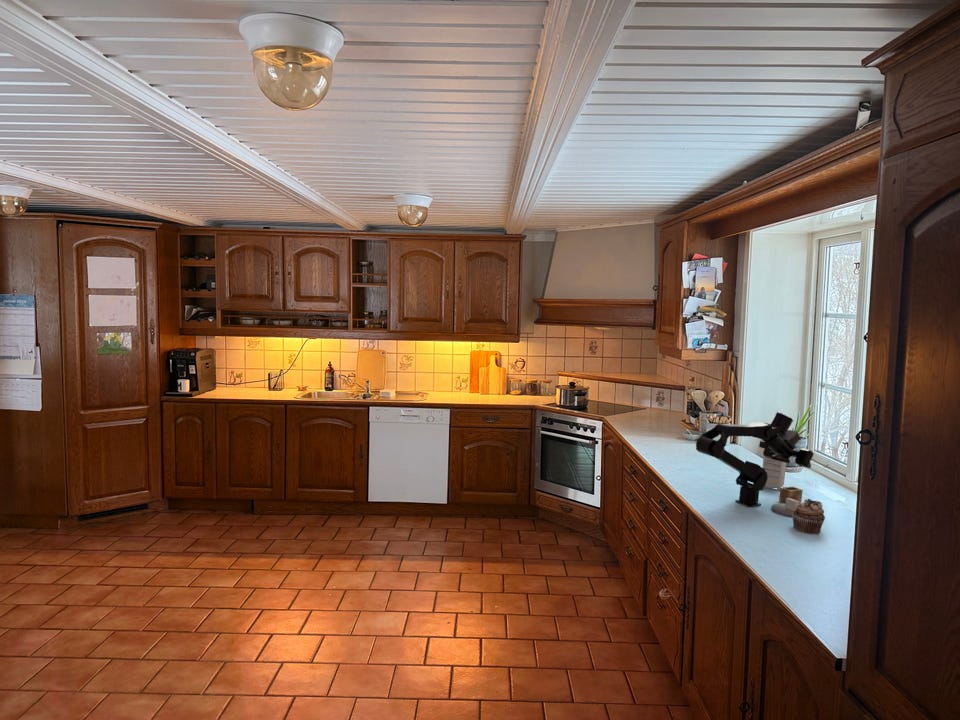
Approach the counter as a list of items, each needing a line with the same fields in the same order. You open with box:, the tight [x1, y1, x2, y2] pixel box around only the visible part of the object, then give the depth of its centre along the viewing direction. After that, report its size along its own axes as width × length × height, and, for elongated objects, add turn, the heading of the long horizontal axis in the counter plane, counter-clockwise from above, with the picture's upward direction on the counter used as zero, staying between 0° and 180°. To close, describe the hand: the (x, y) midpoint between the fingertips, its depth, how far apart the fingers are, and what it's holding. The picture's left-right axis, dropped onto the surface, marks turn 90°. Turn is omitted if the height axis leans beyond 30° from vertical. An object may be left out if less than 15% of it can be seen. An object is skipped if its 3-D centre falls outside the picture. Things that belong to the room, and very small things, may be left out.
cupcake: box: [792, 498, 826, 535], centre depth 216 cm, size 10×10×10 cm
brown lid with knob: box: [771, 498, 800, 518], centre depth 235 cm, size 13×13×4 cm
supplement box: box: [761, 455, 787, 489], centre depth 268 cm, size 7×7×13 cm
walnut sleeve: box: [778, 486, 803, 504], centre depth 248 cm, size 7×4×5 cm, turn 117°
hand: (799, 464), depth 251 cm, fingers open, 9 cm apart
